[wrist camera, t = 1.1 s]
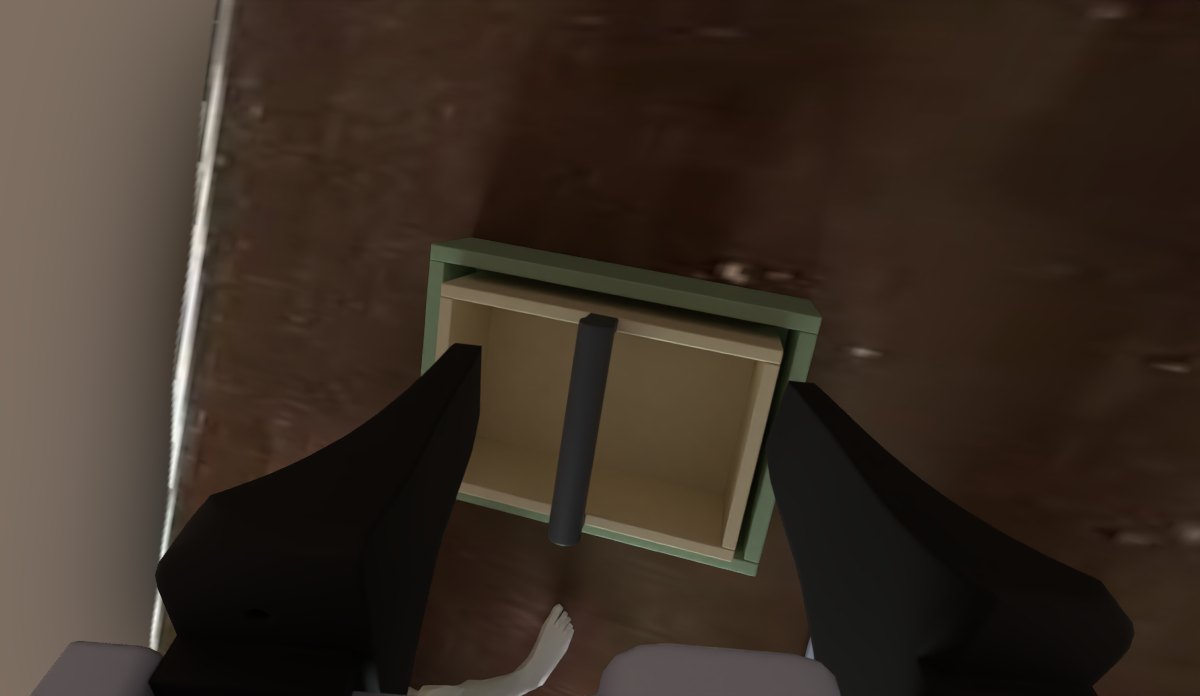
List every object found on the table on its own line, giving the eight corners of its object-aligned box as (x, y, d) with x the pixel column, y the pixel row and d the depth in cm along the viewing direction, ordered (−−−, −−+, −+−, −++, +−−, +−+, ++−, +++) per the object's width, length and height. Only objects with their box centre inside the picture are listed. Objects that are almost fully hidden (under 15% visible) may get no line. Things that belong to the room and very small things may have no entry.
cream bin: (733, 504, 27) (731, 591, 21) (469, 441, 29) (401, 504, 23) (776, 323, 24) (787, 364, 19) (487, 268, 26) (417, 289, 21)
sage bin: (753, 529, 27) (755, 577, 24) (449, 453, 29) (411, 488, 26) (810, 299, 24) (822, 317, 21) (470, 237, 27) (430, 243, 23)
